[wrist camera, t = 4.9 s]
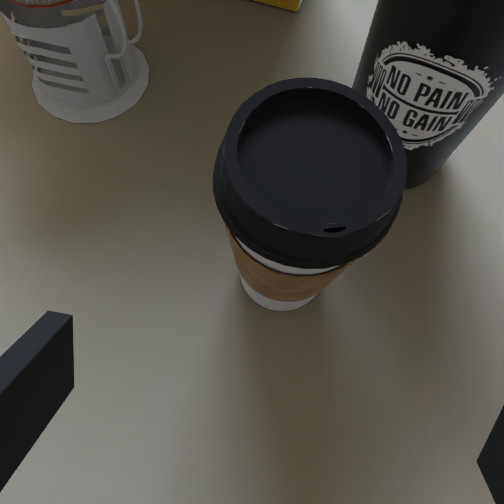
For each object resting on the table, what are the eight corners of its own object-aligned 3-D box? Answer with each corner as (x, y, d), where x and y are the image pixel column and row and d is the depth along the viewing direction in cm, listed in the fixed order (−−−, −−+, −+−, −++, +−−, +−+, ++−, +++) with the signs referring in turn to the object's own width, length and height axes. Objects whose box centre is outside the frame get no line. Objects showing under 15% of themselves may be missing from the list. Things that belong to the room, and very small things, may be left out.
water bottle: (307, 165, 34) (423, -260, 13) (355, 76, 38) (510, -376, 16) (429, 220, 33) (786, -157, 12) (467, 122, 36) (798, -308, 15)
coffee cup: (228, 337, 29) (221, 257, 15) (216, 223, 32) (200, 71, 18) (351, 322, 30) (450, 232, 16) (327, 212, 33) (393, 55, 19)
